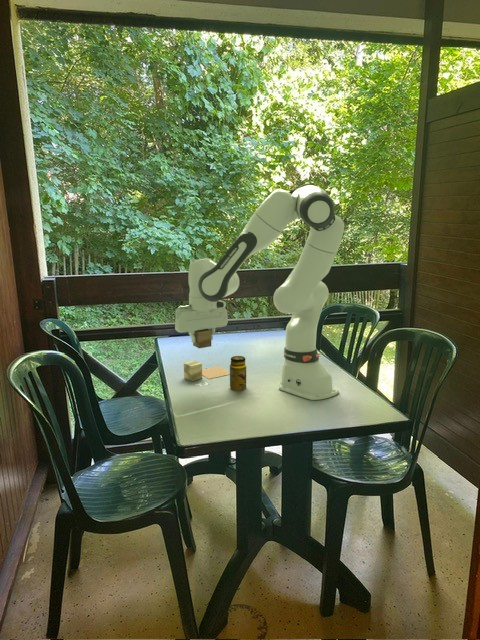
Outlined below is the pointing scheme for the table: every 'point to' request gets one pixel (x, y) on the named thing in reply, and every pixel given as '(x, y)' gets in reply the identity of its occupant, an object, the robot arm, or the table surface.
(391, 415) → the table surface
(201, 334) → the walnut block
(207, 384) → the tile
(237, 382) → the condiment
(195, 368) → the oak block
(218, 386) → the table surface
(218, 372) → the coaster
